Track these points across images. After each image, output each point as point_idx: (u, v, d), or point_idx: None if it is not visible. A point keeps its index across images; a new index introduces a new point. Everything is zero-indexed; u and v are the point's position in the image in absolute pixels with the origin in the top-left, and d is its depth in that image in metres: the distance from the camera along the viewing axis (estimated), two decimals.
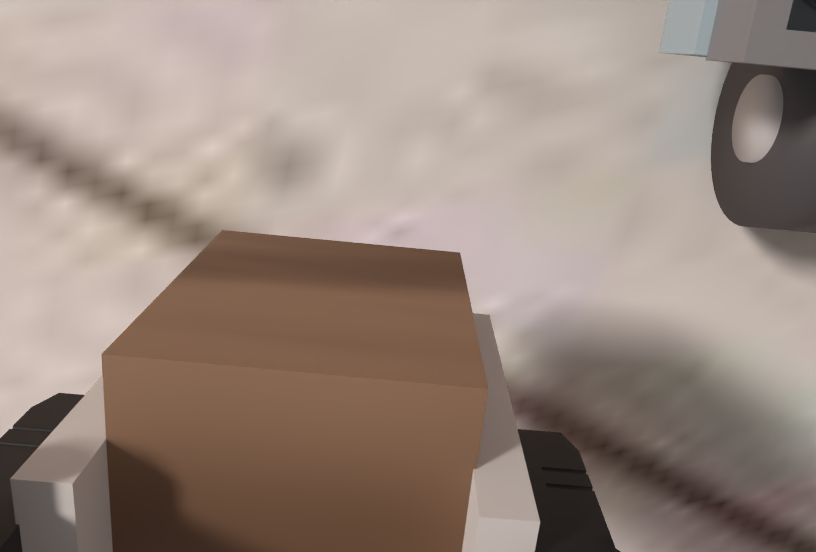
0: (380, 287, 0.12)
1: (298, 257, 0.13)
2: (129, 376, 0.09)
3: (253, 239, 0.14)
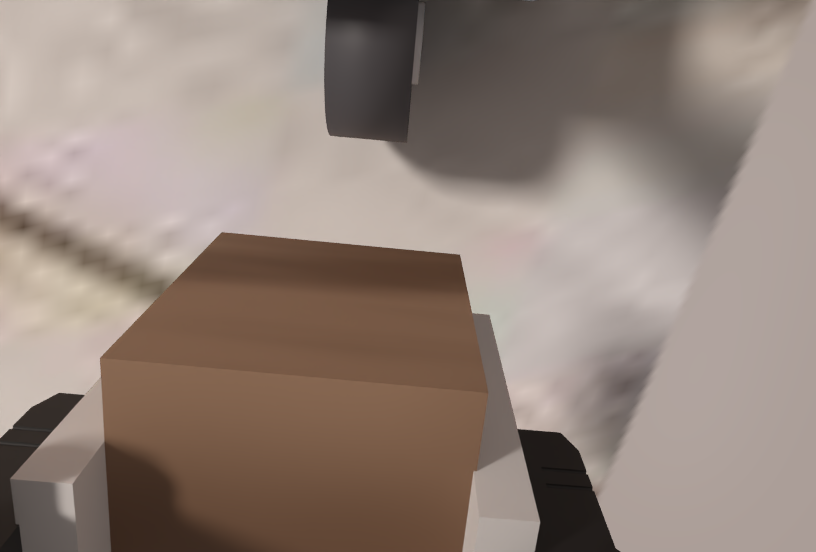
0: (380, 289, 0.12)
1: (298, 259, 0.13)
2: (128, 380, 0.09)
3: (252, 241, 0.14)
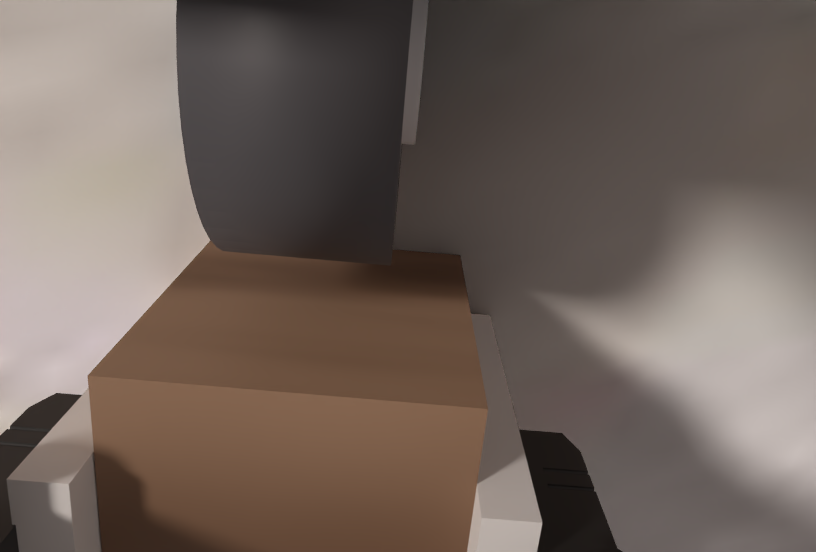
0: (377, 295, 0.12)
1: (294, 263, 0.13)
2: (117, 398, 0.09)
3: None
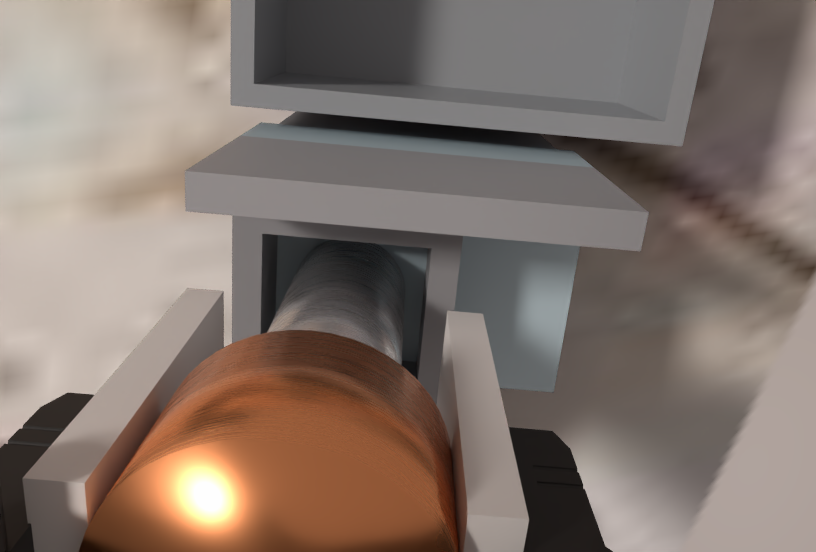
0: None
1: None
2: None
3: None
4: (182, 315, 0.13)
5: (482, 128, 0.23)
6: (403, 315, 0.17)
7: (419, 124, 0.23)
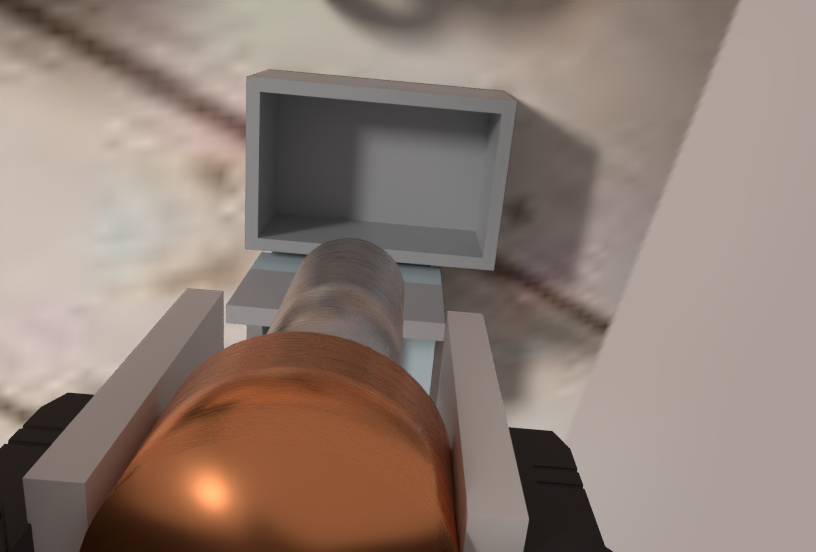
0: None
1: None
2: None
3: None
4: (182, 315, 0.13)
5: None
6: (403, 316, 0.17)
7: None
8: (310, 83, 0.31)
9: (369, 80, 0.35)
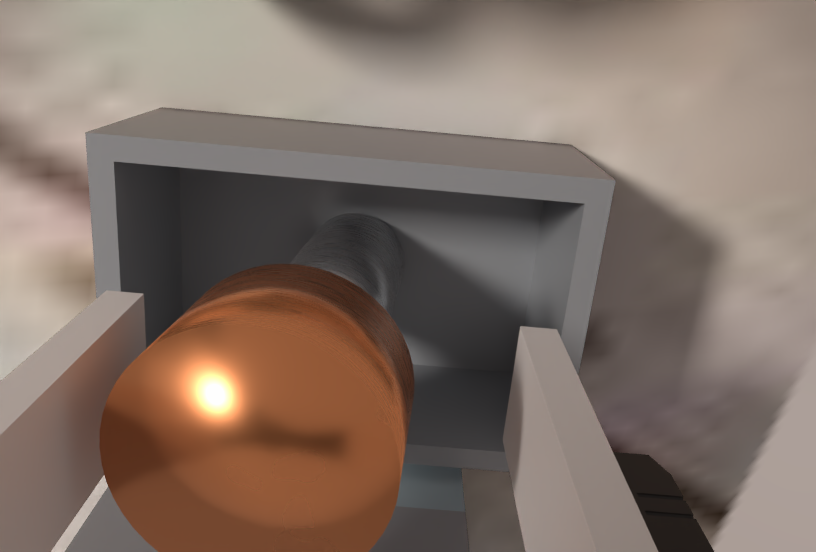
0: None
1: None
2: None
3: None
4: (93, 319, 0.13)
5: None
6: (398, 280, 0.19)
7: None
8: (211, 145, 0.16)
9: (335, 129, 0.19)
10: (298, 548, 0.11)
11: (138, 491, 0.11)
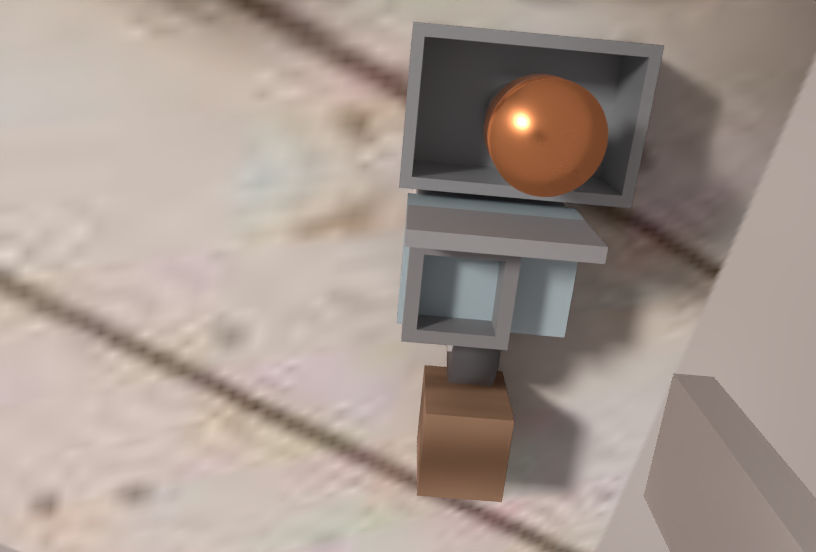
0: (481, 388, 0.43)
1: None
2: (431, 418, 0.39)
3: (436, 369, 0.45)
4: None
5: None
6: None
7: None
8: (472, 28, 0.33)
9: None
10: (564, 176, 0.29)
11: (502, 153, 0.29)
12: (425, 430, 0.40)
